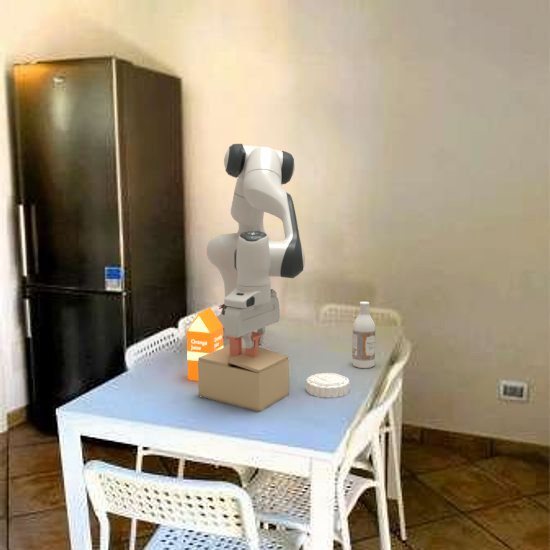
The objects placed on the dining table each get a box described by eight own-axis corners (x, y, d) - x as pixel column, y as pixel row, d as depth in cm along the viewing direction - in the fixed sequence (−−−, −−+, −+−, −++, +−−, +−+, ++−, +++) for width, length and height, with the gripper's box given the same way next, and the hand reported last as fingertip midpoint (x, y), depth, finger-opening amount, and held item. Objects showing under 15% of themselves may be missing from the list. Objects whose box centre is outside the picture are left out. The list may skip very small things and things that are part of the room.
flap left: (198, 360, 164) (197, 336, 163) (229, 348, 175) (229, 325, 174) (227, 366, 158) (226, 341, 157) (257, 353, 170) (257, 330, 168)
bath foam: (362, 370, 186) (363, 305, 182) (347, 364, 192) (348, 301, 188) (379, 366, 190) (380, 302, 186) (364, 360, 195) (365, 299, 192)
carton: (198, 396, 165) (197, 360, 164) (230, 381, 177) (229, 348, 175) (259, 411, 154) (259, 373, 153) (289, 394, 166) (288, 359, 164)
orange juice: (224, 372, 184) (222, 308, 181) (211, 382, 176) (210, 314, 173) (200, 370, 187) (198, 306, 184) (187, 379, 179) (185, 312, 175)
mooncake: (358, 392, 168) (358, 380, 167) (323, 402, 161) (323, 389, 161) (331, 380, 178) (331, 368, 177) (297, 388, 171) (297, 376, 171)
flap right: (228, 362, 158) (229, 338, 157) (258, 349, 169) (260, 326, 168) (259, 373, 153) (261, 348, 151) (288, 359, 164) (290, 335, 163)
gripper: (266, 286, 169) (266, 334, 172) (219, 300, 152) (220, 353, 155) (285, 288, 166) (285, 338, 168) (240, 303, 149) (240, 357, 151)
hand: (254, 345), depth 161 cm, fingers open, 3 cm apart
